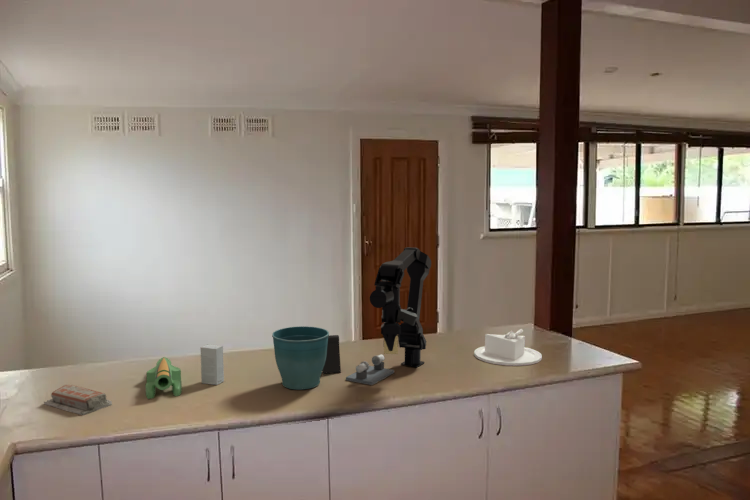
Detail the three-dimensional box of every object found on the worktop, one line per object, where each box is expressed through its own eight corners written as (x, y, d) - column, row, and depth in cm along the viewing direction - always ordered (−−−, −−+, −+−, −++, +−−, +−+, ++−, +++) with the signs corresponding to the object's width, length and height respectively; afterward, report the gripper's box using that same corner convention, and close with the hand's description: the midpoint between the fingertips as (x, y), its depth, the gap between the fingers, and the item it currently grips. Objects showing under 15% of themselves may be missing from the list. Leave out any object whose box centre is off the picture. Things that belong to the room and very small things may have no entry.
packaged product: (112, 390, 179) (82, 400, 171) (113, 406, 180) (83, 417, 171) (73, 380, 188) (42, 389, 179) (74, 395, 189) (43, 405, 180)
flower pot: (331, 392, 191) (331, 338, 189) (273, 395, 188) (272, 341, 186) (326, 374, 208) (326, 325, 207) (272, 377, 205) (272, 327, 204)
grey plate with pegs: (369, 368, 215) (369, 351, 215) (394, 372, 210) (394, 355, 210) (345, 380, 203) (345, 362, 202) (372, 385, 198) (372, 366, 197)
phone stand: (340, 372, 210) (340, 338, 209) (323, 373, 209) (323, 339, 208) (336, 365, 219) (336, 332, 218) (320, 366, 218) (319, 333, 216)
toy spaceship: (148, 369, 214) (147, 348, 213) (180, 366, 218) (179, 346, 217) (145, 400, 184) (144, 376, 183) (182, 396, 187) (181, 372, 187)
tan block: (383, 353, 199) (383, 335, 199) (383, 350, 203) (383, 332, 203) (398, 354, 199) (398, 335, 199) (398, 350, 203) (398, 332, 203)
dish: (549, 354, 235) (551, 325, 234) (528, 370, 214) (529, 339, 213) (489, 344, 249) (490, 317, 247) (463, 359, 228) (464, 329, 226)
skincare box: (224, 381, 201) (223, 345, 200) (217, 385, 197) (216, 349, 196) (208, 379, 203) (207, 344, 201) (200, 383, 199) (199, 347, 197)
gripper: (417, 308, 190) (416, 357, 192) (414, 296, 208) (414, 341, 210) (381, 308, 190) (380, 357, 192) (381, 296, 209) (381, 341, 211)
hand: (390, 349), depth 201 cm, fingers closed on tan block, 4 cm apart
